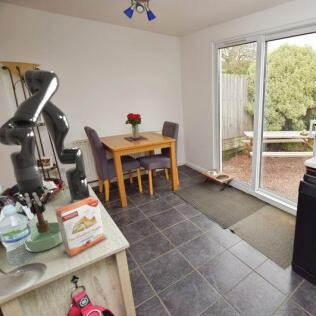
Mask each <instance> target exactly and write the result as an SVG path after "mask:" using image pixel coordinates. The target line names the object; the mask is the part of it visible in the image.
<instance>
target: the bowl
mask: <svg viewBox="0 0 316 316" xmlns="http://www.w3.org/2000/svg"><path fill="white" fill-rule="evenodd" d="M48 224H49V227H50V230H49V231H47V232H44V233H38V230H37V227H36V226H33V227H32V228H30V229H31V240H32V241H27V240H26V241H25V243H26V245H27V247H28V248H29V249H30V250H31V251H29V252H30V253H31V252H32V253H37V252H43V251H47V250H50V249H52V248H55V247H56V246H58V245H59V244H61V243H63V241H62V237H61V233H60V229H59V225H58V221H50V222H49V221H48Z"/></svg>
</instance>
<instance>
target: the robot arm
mask: <svg viewBox="0 0 316 316" xmlns="http://www.w3.org/2000/svg"><path fill="white" fill-rule="evenodd" d="M23 79H24V83H25V86H26V87H27V89H28V91H29V93H30V95H31V96H29V97H27V98H25V99H23V101H22V102H21V103H19V105H18V106H17V108H16V110H15V111H14V113H13V115H12V117H10V118H9V119H8V120H7V121H6V122H4V123H3V124H1V126H0V144H1V145H3V146H8V147H9V146H14V147H15V146H16V147H17V146H20V150H16V151H13V152H11V153H10V154H9V159H10V162H11V165H12V168H13V169H12V170H13V174H14V178H15V181H16V185H17V188H18V192H15V194H12V198H13V199H14V201H16V202H17V203H18V204H20V205H21V206H22V207H28V208H29V211H30V213H31V214H32V215H36V212H35V209H34V205H33V203H34V202H37V203H38V205H39V206H38V207H39V210H40V213H42V214H44V213H45V212H46V211H47V208H46V205H47V203H49V202H50V199H51V197H52V195H53V193H54V190H53V189H47V188H46V187H45V186H44V182H43V178H42V174H41V171H40V168H39V165H38V163H37V158H36V155H35V154H36V140H37V136H36V133H35V131H34V130H33V129H32V128H34V127H35V126H36V124H37V122H38V121H39V118H40V116H41V117H42V120H43V123H44V125H45V127H46V130H47V132H48V134H49V137H50V138H51V141H52V144H53V148H54V151H55V155H56V157H57V160H58V162H59V163H60V164H61V165H75V166H73V167H70V168H68V169H67V170H66V171H65V177H66V183H67V187H68V191H69V194H70V200H71V204H72V203H75V202H78V201H80V200H83V199H86V198H89V197H91V194H90V188H89V185H88V179H87V174H86V167H85V166H86V165H85V161H84V153H83V150H82V149H81V148H80V147H66V146H65V144H64V142H65V139H66V137H67V136H68V133H69V131H70V124H69V121H68V118H67V115H66V114H65V112H64V111H62V109H60V107H58V106H57V105H55V104H54V103H53V101H51V100H52V98H53V97H54V96H55V95H56V93H57V92H58V91H59V88H60V78H59V77H58V75H57V74H56V73H55V72H54V71H51V70H43V69H26V70H24V72H23ZM44 195H45V197H44Z"/></svg>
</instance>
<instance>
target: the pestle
mask: <svg viewBox="0 0 316 316" xmlns="http://www.w3.org/2000/svg"><path fill="white" fill-rule="evenodd" d="M33 205H34V209H35V212H36V214H35V215H36V218H37V219H36V220H37V222H36V223H35V227H37V230H38V233H44V232H47V231H49V230H50V227H49V224H48V223H49V221H48V219H45V218H44V217H45V216H44V213H40V210H39V207H38V206H39V205H38V203H37V202H36V201H34V203H33Z"/></svg>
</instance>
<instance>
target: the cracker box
mask: <svg viewBox="0 0 316 316" xmlns="http://www.w3.org/2000/svg"><path fill="white" fill-rule="evenodd" d="M54 212H55V216H56V220H57V221H56V222H58V225H59V229H60V233H61V237H62V245H63V248H64V252H65V253H67V254H68V255H69V256H70V257H73V256H75V255H77V254H78V253H80V252H82V251H84V250H86V249H88V248H90V247H91V246H93V245H96V244H97V243H99V242H101V241H103V240H104V239H105V234H104V229H103V222H102V216H101V210H100V203H99V200H98V199H97V198H95V197H93V196H90V197H89V198H86V199H83V200H80V201H78V202H75V203H72V202H71V203H69V204H67V205H64V206H61V207H58V208H55V209H54Z"/></svg>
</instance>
